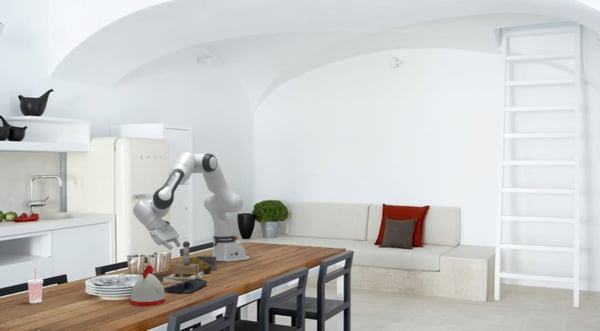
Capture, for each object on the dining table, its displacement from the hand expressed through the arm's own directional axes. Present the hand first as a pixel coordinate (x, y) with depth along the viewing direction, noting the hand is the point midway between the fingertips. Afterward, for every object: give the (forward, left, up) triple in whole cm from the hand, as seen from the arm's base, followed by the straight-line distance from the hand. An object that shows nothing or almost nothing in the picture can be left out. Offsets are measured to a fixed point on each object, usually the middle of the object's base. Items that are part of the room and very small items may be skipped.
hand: (175, 247), depth 307 cm
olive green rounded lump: (-15, -9, -16) cm, 23 cm away
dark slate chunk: (+2, +26, -16) cm, 31 cm away
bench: (-10, -3, -15) cm, 18 cm away
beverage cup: (+66, +24, -16) cm, 72 cm away
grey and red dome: (+24, +45, -16) cm, 53 cm away
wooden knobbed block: (-5, +3, -14) cm, 16 cm away
